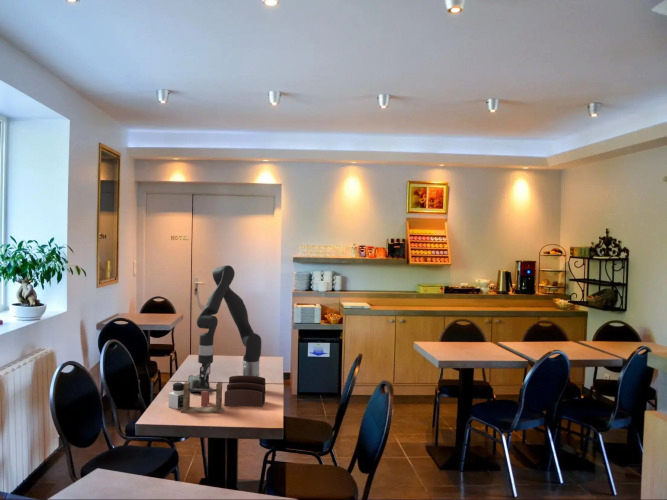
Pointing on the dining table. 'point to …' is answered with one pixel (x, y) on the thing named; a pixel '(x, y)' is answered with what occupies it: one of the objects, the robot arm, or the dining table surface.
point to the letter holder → (245, 391)
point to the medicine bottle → (176, 396)
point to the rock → (196, 383)
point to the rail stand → (189, 409)
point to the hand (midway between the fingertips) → (204, 384)
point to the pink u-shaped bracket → (204, 398)
